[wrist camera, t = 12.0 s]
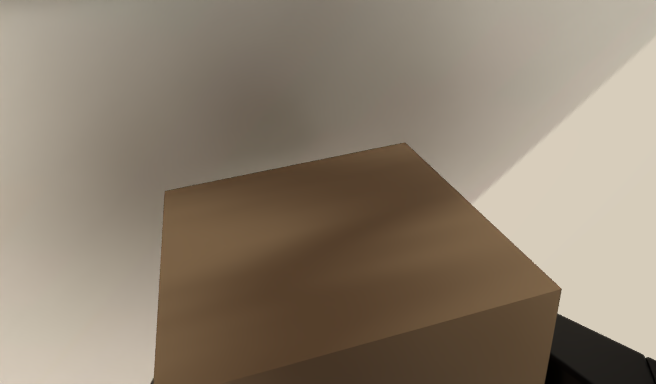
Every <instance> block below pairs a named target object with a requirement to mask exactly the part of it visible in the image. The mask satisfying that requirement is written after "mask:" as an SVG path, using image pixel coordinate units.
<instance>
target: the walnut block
mask: <svg viewBox="0 0 656 384" xmlns="http://www.w3.org/2000/svg"><path fill="white" fill-rule="evenodd" d="M561 290H562V289H561V288H560V287H559V286H558V285H557V284H556V283H555V282H554V281H552V279H551V278H549V277H548V276H547V275H546V274H545V273H544V272H543V271H542V270H541V269H540V268H539V267H538V266H536V264H534V263H533V262H532V261H531V260H530V259H529V258H528V257H527V256H526V255H525V254H524V253H523V252H522V251H521V250H519V249H518V248H517V247H516V246H515V245H514V244H513V243H512V242H511V241H510V240H509V239H508V238H507V237H506V236H504V235H503V234H502V233H501V232H500V231H499V230H498V229H497V228H496V227H495V226H494V225H493V224H492V223H490V221H488V220H487V219H486V218H485V217H484V216H483V215H482V214H481V213H480V212H479V211H478V210H477V209H476V208H475V207H473V206H472V205H471V204H470V203H469V202H468V201H467V200H466V199H465V198H464V197H463V196H462V195H461V194H460V193H459V192H457V191H456V190H455V189H454V188H453V187H452V186H451V185H450V184H449V183H448V182H447V181H446V180H445V179H444V178H442V177H441V176H440V175H439V174H438V173H437V172H436V171H435V170H434V169H433V168H432V167H431V166H430V165H429V164H427V163H426V162H425V161H424V160H423V159H422V158H421V157H420V156H419V155H418V154H417V153H416V152H415V151H414V150H413V149H411V148H410V147H409V146H408V145H407V144H406V143H400V144H395V145H390V146H385V147H380V148H375V149H370V150H365V151H361V152H356V153H351V154H346V155H341V156H336V157H331V158H326V159H321V160H316V161H311V162H306V163H301V164H296V165H291V166H286V167H281V168H276V169H272V170H267V171H262V172H257V173H252V174H247V175H242V176H237V177H232V178H227V179H222V180H217V181H212V182H207V183H202V184H197V185H192V186H187V187H183V188H178V189H173V190H168V191H165V195H164V212H163V230H162V247H161V264H160V281H159V298H158V316H157V333H156V350H155V367H154V384H545V378H546V372H547V367H548V361H549V356H550V350H551V345H552V339H553V334H554V328H555V323H556V317H557V312H558V306H559V300H560V295H561Z"/></svg>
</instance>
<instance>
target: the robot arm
mask: <svg viewBox="0 0 656 384" xmlns="http://www.w3.org/2000/svg"><path fill="white" fill-rule="evenodd" d="M151 384H154V378H153V380H152V382H151ZM545 384H656V360H654V359H651V358H649V357H647V358H645V356H644V355H643V354H641V353H639V352H637V351H635V350H632V349H630V348H628V347H626V346H624V345H622V344H620V343H618V342H616V341H614V340H611V339H610V338H607V337H605V336H603V335H601V334H599V333H597V332H595V331H593V330H591V329H589V328H586V327H584V326H582V325H580V324H578V323H576V322H574V321H572V320H570V319H568V318H566V317H563V316H562V315H559V314H557V317H556V323H555V328H554V334H553V339H552V345H551V350H550V356H549V361H548V367H547V372H546V378H545Z"/></svg>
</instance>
